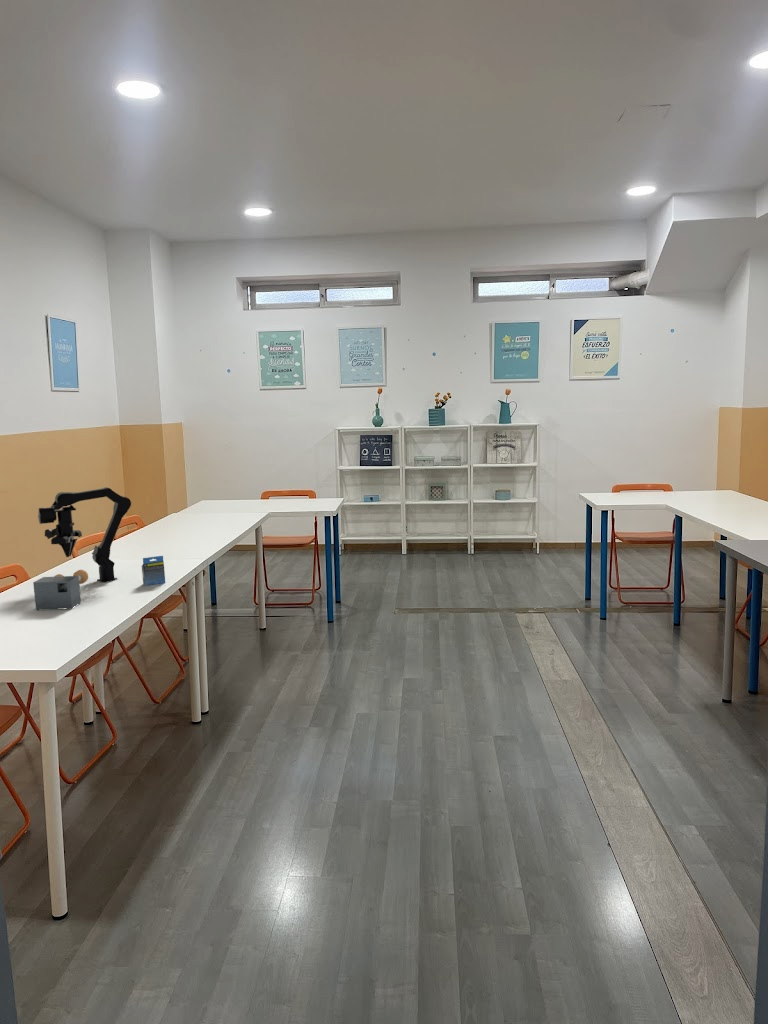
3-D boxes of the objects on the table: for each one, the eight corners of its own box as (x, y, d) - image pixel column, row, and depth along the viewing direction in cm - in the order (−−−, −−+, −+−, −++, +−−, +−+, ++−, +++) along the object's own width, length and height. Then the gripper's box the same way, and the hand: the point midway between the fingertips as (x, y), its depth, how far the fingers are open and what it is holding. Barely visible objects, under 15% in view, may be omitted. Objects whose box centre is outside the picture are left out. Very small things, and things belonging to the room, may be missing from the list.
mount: (50, 601, 303) (47, 574, 302) (85, 599, 303) (82, 573, 302) (36, 610, 290) (33, 582, 289) (72, 608, 291) (69, 581, 289)
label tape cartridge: (163, 581, 332) (161, 554, 330) (165, 583, 328) (163, 555, 327) (142, 584, 328) (140, 556, 326) (144, 586, 324) (142, 558, 322)
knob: (75, 583, 308) (74, 569, 308) (88, 582, 309) (87, 569, 308) (59, 592, 293) (58, 578, 292) (73, 592, 293) (72, 578, 292)
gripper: (55, 518, 334) (59, 552, 336) (37, 525, 315) (40, 561, 318) (80, 517, 334) (83, 551, 336) (63, 524, 316) (67, 560, 318)
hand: (68, 556), depth 327 cm, fingers closed
